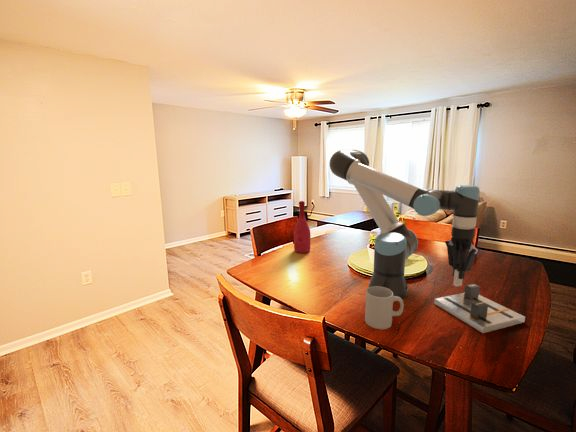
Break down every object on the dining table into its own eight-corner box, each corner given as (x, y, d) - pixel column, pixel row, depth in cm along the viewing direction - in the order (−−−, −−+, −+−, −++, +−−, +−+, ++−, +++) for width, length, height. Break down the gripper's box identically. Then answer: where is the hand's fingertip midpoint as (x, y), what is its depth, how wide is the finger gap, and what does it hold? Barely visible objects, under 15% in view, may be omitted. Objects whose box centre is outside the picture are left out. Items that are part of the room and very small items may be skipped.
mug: (367, 329, 89) (368, 297, 87) (362, 314, 97) (364, 285, 95) (406, 330, 88) (408, 298, 86) (398, 315, 96) (400, 286, 94)
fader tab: (470, 299, 102) (471, 287, 101) (464, 296, 104) (465, 284, 104) (478, 297, 103) (479, 286, 102) (472, 294, 106) (473, 283, 105)
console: (482, 333, 86) (485, 313, 85) (434, 303, 104) (435, 286, 102) (524, 322, 91) (527, 303, 90) (471, 295, 109) (473, 279, 107)
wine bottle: (291, 249, 169) (290, 200, 163) (306, 247, 172) (306, 199, 166) (297, 254, 160) (296, 202, 154) (313, 252, 163) (313, 201, 156)
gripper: (487, 229, 100) (480, 290, 104) (456, 222, 112) (450, 277, 116) (472, 232, 97) (465, 294, 102) (441, 224, 110) (436, 280, 114)
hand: (457, 285), depth 109 cm, fingers closed
